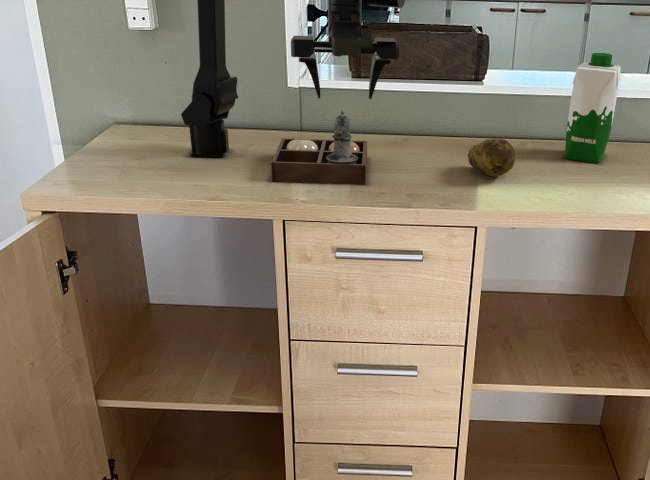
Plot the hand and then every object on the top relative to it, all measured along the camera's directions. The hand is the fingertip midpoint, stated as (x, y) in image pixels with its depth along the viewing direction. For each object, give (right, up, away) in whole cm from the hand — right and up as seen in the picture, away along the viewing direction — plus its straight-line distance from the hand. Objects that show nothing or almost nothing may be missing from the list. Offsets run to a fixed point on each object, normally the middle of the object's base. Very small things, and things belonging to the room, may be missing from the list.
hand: (344, 98), depth 138 cm
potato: (+27, -13, +7) cm, 31 cm away
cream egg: (-9, -9, +11) cm, 17 cm away
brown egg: (-1, -9, +11) cm, 14 cm away
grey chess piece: (-1, -13, +4) cm, 14 cm away
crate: (-5, -11, +7) cm, 14 cm away
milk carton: (+49, -5, +22) cm, 54 cm away
